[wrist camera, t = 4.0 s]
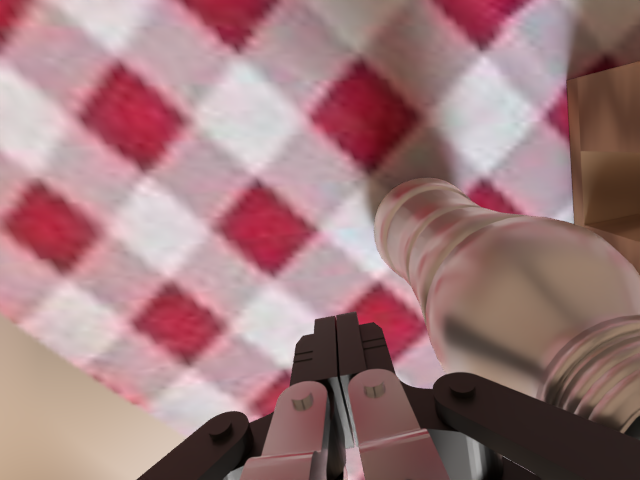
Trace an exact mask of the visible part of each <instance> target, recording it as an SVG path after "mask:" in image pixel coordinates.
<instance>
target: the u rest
mask: <svg viewBox="0 0 640 480" xmlns="http://www.w3.org/2000/svg"><path fill="white" fill-rule="evenodd" d="M567 96H568V114H569V132H570V151H571V169H572V187H573V205H574V223H575V225H578V226H582V227H585V228H587V229H588V230H590V231H592V232H594V233H595V234H597V235H599V236H601V237H602V238H603V239H604V240H606V241H607V242H608V243H609V244H610V245H611V246H612V247H614V248H615V249H616V250H617V251H618V252H619V253H620V254H621V255H622V256H624V257H625V258H626V259H627V260H628V261H629V262H630V263H631V264H632V265H633V266H634V268H635V269H636V271H637V272H638V274H639V275H640V61H638V62H634V63H631V64H627V65H623V66H619V67H616V68H612V69H608V70H604V71H601V72H597V73H593V74H589V75H586V76H582V77H578V78H574V79H571V80H567Z"/></svg>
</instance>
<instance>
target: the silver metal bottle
mask: <svg viewBox="0 0 640 480" xmlns="http://www.w3.org/2000/svg"><path fill="white" fill-rule="evenodd" d="M374 238H375V243H376V247H377V250H378V252H379V254H380V256H381V258H382V259H383V260H384V262H385V263H386V264H387V265H388V266H389V267H390V268H391V269H392V270H393V271H394V272H396V273H397V274H398V275H399V276H401V277H402V278H404V279H405V280H406V281H407V282H408V283H409V284H410V286H411V287H412V289H413V291H414V293H415V295H416V297H417V299H418V301H419V303H420V307H421V310H422V313H423V317H424V320H425V324H426V328H427V331H428V335H429V338H430V342H431V345H432V347H433V349H434V351H435V354H436V356H437V359H438V360H439V362H440V364H441V366H442V368H443V370H444V372H445V373H446V374H449V373H454V372H467V373H472V374H476V375H479V376H481V377H484V378H486V379H489V380H491V381H494V382H496V383H499V384H501V385H504V386H506V387H509V388H511V389H514V390H516V391H519V392H521V393H524V394H526V395H529V396H531V397H534V398H536V399H539V400H541V401H543V402H546V403H548V404H551V405H553V406H556V407H558V408H561V409H563V410H566V411H568V412H571V413H573V414H576V415H578V416H581V417H583V418H586V419H588V420H591V421H593V422H596V423H598V424H601V425H603V426H606V427H608V428H611V429H613V430H616V431H618V432H621V433H623V434H626V435H628V436H631V437H633V438H636V439H638V440H640V275H639V274H638V272H637V271H636V269H635V268H634V266H633V265H632V264H631V263H630V262H629V261H628V260H627V259H626V258H625V257H624V256H622V255H621V254H620V253H619V252H618V251H617V250H616V249H615V248H614V247H612V246H611V245H610V244H609V243H608V242H607V241H606V240H604V239H603V238H602V237H601V236H599V235H597V234H595V233H594V232H592V231H590V230H588V229H587V228H585V227H582V226H578V225H575V224H572V223H569V222H565V221H560V220H555V219H551V218H547V217H536V216H527V215H517V214H508V213H499V212H496V211H493V210H489V209H486V208H482V207H480V206H478V205H477V204H475V203H474V202H472V201H471V200H470V199H469V197H468V196H466V195H465V194H464V193H463V192H462V191H461V190H459V189H458V188H457V187H456V186H454V185H452V184H450V183H449V182H447V181H444V180H441V179H437V178H427V177H426V178H417V179H413V180H410V181H407V182H404V183H402V184H400V185H398V186H396V187H395V188H393V189H392V190H391V191H390V192H389V193H388V194H387V195H386V196H385V197H384V199H383V200H382V202H381V203H380V205H379V207H378V209H377V213H376V216H375V223H374Z"/></svg>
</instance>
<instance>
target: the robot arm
mask: <svg viewBox="0 0 640 480" xmlns="http://www.w3.org/2000/svg"><path fill="white" fill-rule="evenodd" d="M336 318H337V321H336ZM293 362H294V364H293V367H292V374H291V380H290V387H289V388H287V389H286V390H285V391H284V392H283V393H282V394H281V395H280V396H279V398H278V400H277V403H276V407H275V410H274V412H272V413H271V414H269V415H267V416H265V417H262V418H260V419H258V420H255V421H253V422H250V423H249V421H248V418H247V416H246V415H245V414H243V413H241V412H237V411H231V412H225V413H222V414H219V415H217V416H215V417H213V418H212V419H210V420H209V421H207V422H206V423H205V424H204V425H202V426H201V427H200V428H199V429H198V430H196V431H195V432H194V433H193V434H192V435H190V436H189V437H188V438H187V439H185V440H184V441H183V442H182V443H181V444H179V445H178V446H177V447H176V448H174V449H173V450H172V451H171V452H170V453H168V454H167V455H166V456H165V457H164V458H162V459H161V460H160V461H159V462H157V463H156V464H155V465H154V466H152V467H151V468H150V469H149V470H148V471H146V472H145V473H144V474H143V475H142V476H140V477H139V478H138V479H137V480H348V475H347V470H346V466H345V464H346V451H345V449H347V448H354V439H353V433H354V438H355V442H356V446H357V447H359V452H360V457H361V462H362V467H363V472H364V477H365V480H640V440H638V439H636V438H633V437H631V436H628V435H626V434H623V433H621V432H618V431H616V430H613V429H611V428H608V427H606V426H603V425H601V424H598V423H596V422H593V421H591V420H588V419H586V418H583V417H581V416H578V415H576V414H573V413H571V412H568V411H566V410H563V409H561V408H558V407H556V406H553V405H551V404H548V403H546V402H543V401H541V400H539V399H536V398H534V397H531V396H529V395H526V394H524V393H521V392H519V391H516V390H514V389H511V388H509V387H506V386H504V385H501V384H499V383H496V382H494V381H491V380H489V379H486V378H484V377H481V376H479V375H476V374H472V373H467V372H454V373H449V374H446V375H444V376H442V377H440V378H439V379H438V380H437V381H436V382H435V383H434V385H433V389H423V388H416V387H412V386H409V385H407V384H405V383H403V382H402V381H400V380H399V378H398V377H397V376H396V374H395V371H394V367H393V364H392V361H391V358H390V354H389V351H388V348H387V344H386V341H385V338H384V334H383V331H382V328H380V327H379V326H378V325H376V324H375V323H374V322H372V323H367V324H362V325H359V322H358V318H357V313H356V312H351V313H346V314H341V315H336V317H335V316H331V317H325V318H320V319H315V325H314V334H310V335H305V336H302V338H301V339H300V340H299V341H298V343H297V344H296V348H295V356H294V361H293ZM503 456H504V457H503ZM505 457H506V458H505ZM507 458H508V459H507ZM510 460H511V461H510ZM512 461H513V462H512ZM514 462H515V463H514ZM516 463H517V464H518V465H517V464H516ZM519 465H520V466H519ZM521 466H522V467H521ZM523 467H524V468H523ZM525 468H526V469H527V470H526V469H525ZM528 470H529V471H528ZM530 471H531V472H530ZM532 472H533V473H534V474H533V473H532ZM535 474H536V475H535Z"/></svg>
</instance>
